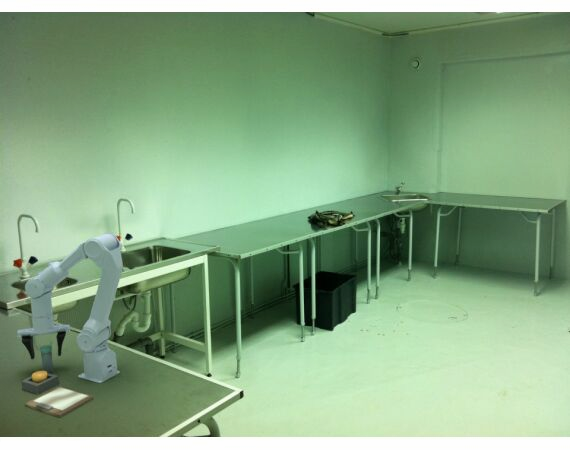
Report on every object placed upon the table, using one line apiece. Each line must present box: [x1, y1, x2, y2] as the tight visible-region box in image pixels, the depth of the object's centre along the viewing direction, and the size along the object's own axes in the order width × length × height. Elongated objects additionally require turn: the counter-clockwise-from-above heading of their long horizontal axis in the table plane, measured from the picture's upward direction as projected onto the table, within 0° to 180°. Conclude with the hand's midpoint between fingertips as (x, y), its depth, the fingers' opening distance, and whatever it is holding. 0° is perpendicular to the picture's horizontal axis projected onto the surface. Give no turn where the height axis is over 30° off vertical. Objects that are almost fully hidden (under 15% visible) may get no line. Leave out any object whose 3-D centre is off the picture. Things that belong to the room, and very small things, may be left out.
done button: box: [31, 370, 48, 383], centre depth 152 cm, size 4×4×2 cm
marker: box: [39, 344, 54, 374], centre depth 162 cm, size 3×3×8 cm
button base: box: [20, 372, 60, 395], centre depth 152 cm, size 7×7×2 cm
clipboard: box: [24, 386, 94, 418], centre depth 143 cm, size 14×11×1 cm
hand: (46, 356), depth 162 cm, fingers open, 7 cm apart
